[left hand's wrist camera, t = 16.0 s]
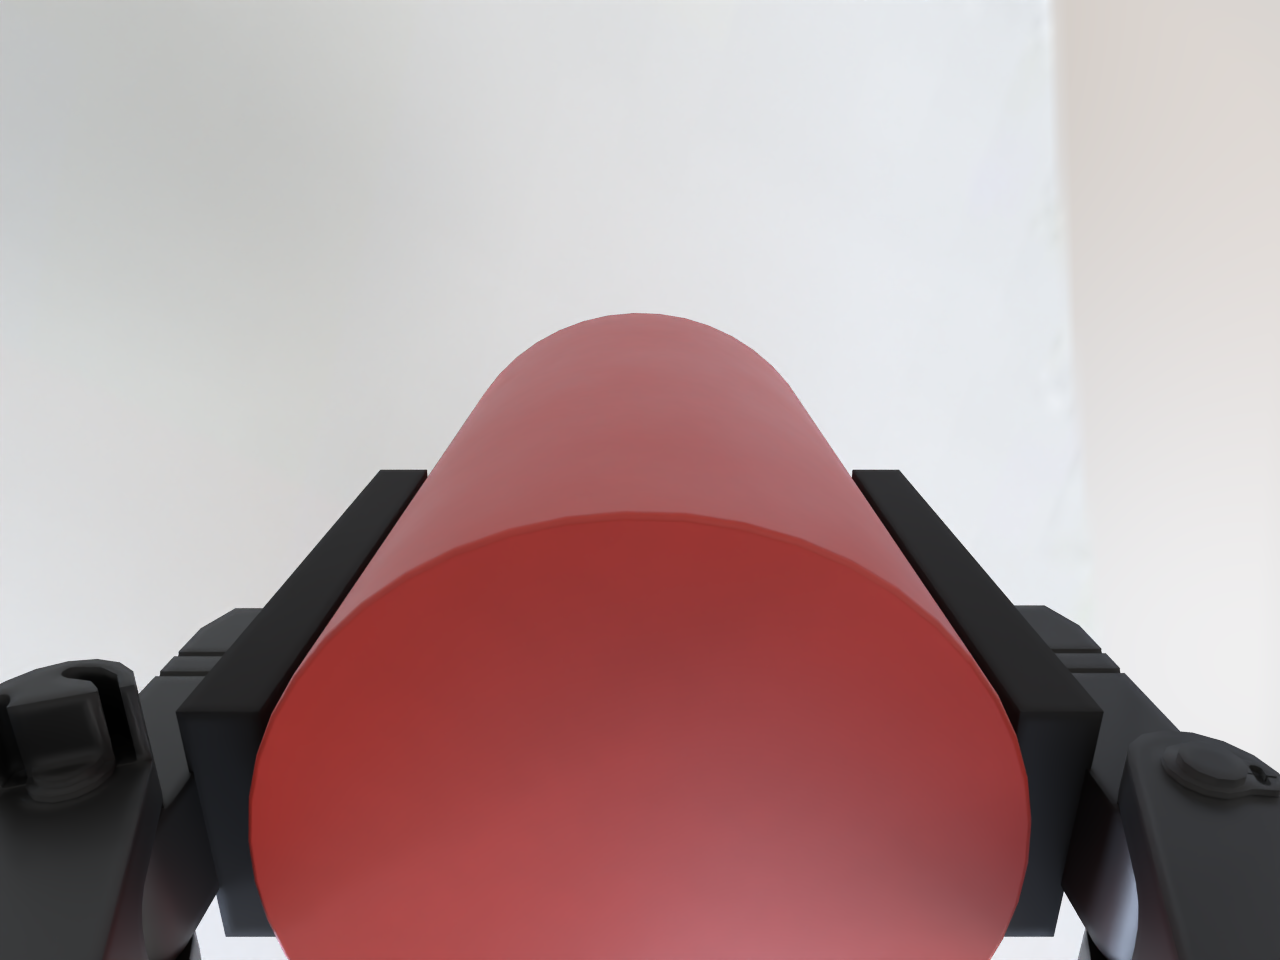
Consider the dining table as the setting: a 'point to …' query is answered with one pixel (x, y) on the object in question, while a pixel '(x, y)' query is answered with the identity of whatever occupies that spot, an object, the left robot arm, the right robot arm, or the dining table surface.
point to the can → (639, 696)
